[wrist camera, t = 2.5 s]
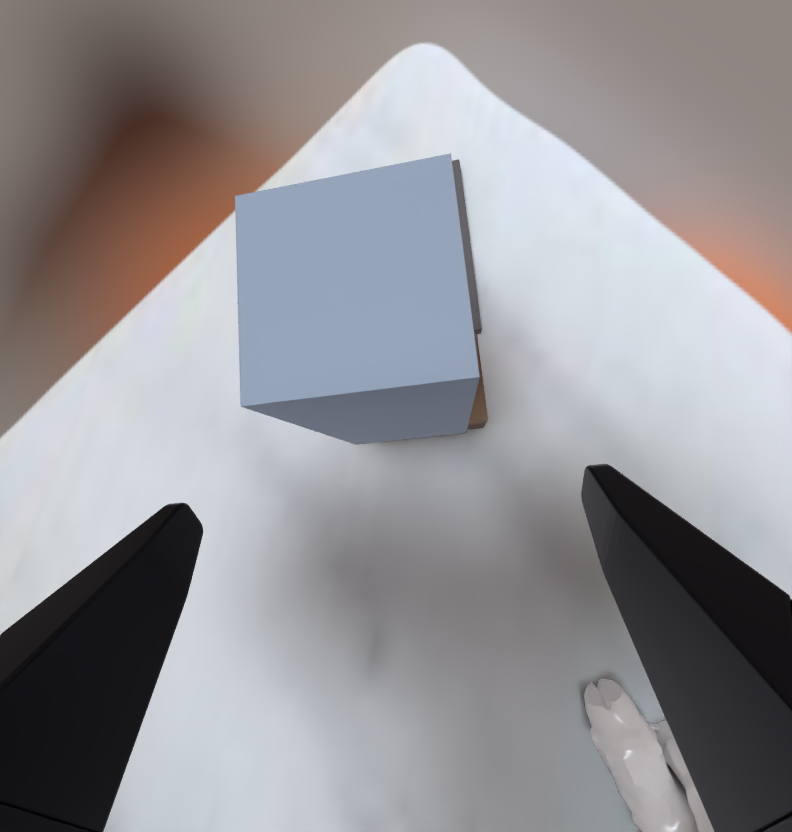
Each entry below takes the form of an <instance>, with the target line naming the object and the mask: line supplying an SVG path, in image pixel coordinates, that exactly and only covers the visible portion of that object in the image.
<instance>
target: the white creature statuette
mask: <svg viewBox="0 0 792 832" xmlns="http://www.w3.org/2000/svg"><path fill="white" fill-rule="evenodd" d="M584 701H585V708H586V712H587V715H588V717H589V720H590V723H591V726H592V727H591V729H590V734H591V737H592V739H593V742H594V743H595V745H596V747H597V748H598V751H599V754H600V756H601V758H602V759H603V761H604V762H605V763H606V764H607V765H608V766H609V768H610V772H611V773H612V775H613V777H614V780H615V782H616V785H617V788H618V792H619V793H620V795H621V796H622V797H623V799H624V800H625V803H626V805H627V806H628V807H629V808H630V810H631V812H632V816H633V817H632V822H633V823H634V824H635V825H636V827H637V828H638V829H639V830H640V831H641V832H714V830H713V827H712V825H711V823H710V820H709V818H708V816H707V813H706V811H705V809H704V806H703V804H702V802H701V799H700V797H699V795H698V792H697V790H696V788H695V785H694V783H693V781H692V778H691V776H690V774H689V771H688V769H687V767H686V764H685V762H684V760H683V757H682V755H681V753H680V750H679V748H678V746H677V743H676V741H675V739H674V736H673V734H672V732H671V729H670V727H669V725H668V722H667V720H664V721H661V722H659V723H658V724H656V723H648V722H647V721H646V719H645V718H644V717H643V715H641V714H640V713H639V712H638V710H637V708H636V706H635V705H634V703H633V701H632V699H631V698H630V697H629V696H628V695H627V694H626V692H625V691H624V690H623V689H622V688H621V687H620V685H619V684H617V683H616V682H615V681H612V680H608V679H603V678H602V679H599V680H598V685H597V687H596V686H595V685H594V684H593V683H590V684H588V686H587V688H586V689H585V692H584ZM666 763H667V764H668V765H669V766H670V767H671V768H672V769H671V768H670V767H668V766H667V764H666ZM672 770H673V771H674V772H673V771H672Z"/></svg>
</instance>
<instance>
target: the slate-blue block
mask: <svg viewBox="0 0 792 832" xmlns="http://www.w3.org/2000/svg"><path fill="white" fill-rule="evenodd" d="M235 209H236V247H237V285H238V323H239V361H240V399H241V407H244V408H247V409H250V410H253V411H256V412H259V413H262V414H265V415H268V416H271V417H274V418H277V419H280V420H283V421H286V422H289V423H292V424H295V425H298V426H301V427H304V428H307V429H310V430H313V431H316V432H320V433H323V434H326V435H329V436H332V437H335V438H338V439H341V440H344V441H347V442H350V443H353V444H366V443H375V442H385V441H394V440H404V439H413V438H423V437H432V436H442V435H451V434H461V433H466V432H467V428H468V423H469V419H470V415H471V411H472V407H473V403H474V398H475V394H476V390H477V386H478V382H479V378H480V376H479V368H478V360H477V352H476V345H475V337H474V329H473V321H472V314H471V306H470V298H469V290H468V283H467V275H466V267H465V259H464V252H463V244H462V236H461V228H460V221H459V213H458V205H457V197H456V190H455V182H454V174H453V166H452V159H451V154H446V155H441V156H436V157H431V158H426V159H421V160H416V161H411V162H406V163H400V164H395V165H390V166H385V167H380V168H375V169H370V170H365V171H360V172H355V173H350V174H345V175H340V176H334V177H329V178H324V179H319V180H314V181H309V182H304V183H299V184H294V185H289V186H284V187H279V188H273V189H268V190H263V191H258V192H253V193H248V194H243V195H238V196H235Z"/></svg>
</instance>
